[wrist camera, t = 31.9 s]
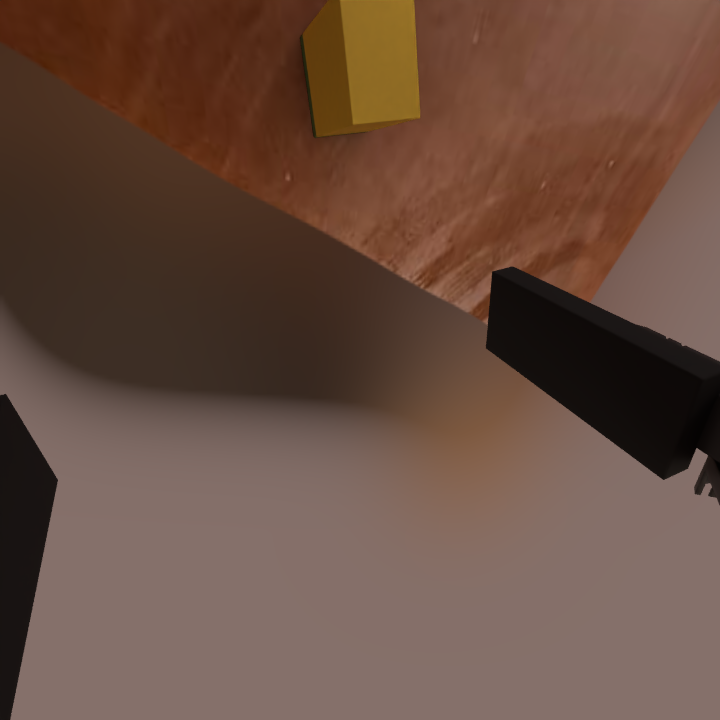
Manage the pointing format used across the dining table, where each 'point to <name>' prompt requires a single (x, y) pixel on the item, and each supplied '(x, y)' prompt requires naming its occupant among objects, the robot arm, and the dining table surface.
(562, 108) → the dining table surface
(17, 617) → the robot arm
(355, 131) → the sponge
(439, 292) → the dining table surface
